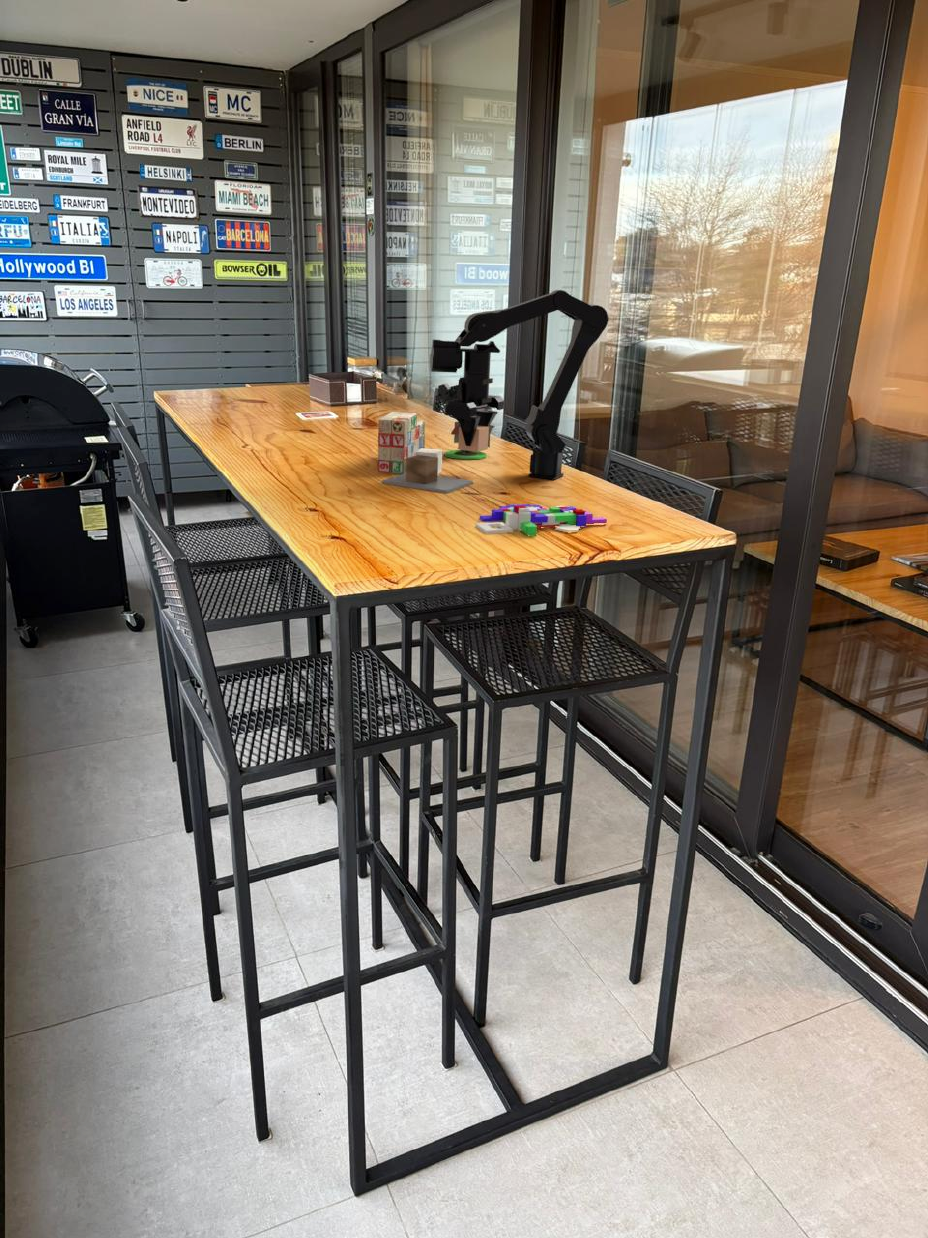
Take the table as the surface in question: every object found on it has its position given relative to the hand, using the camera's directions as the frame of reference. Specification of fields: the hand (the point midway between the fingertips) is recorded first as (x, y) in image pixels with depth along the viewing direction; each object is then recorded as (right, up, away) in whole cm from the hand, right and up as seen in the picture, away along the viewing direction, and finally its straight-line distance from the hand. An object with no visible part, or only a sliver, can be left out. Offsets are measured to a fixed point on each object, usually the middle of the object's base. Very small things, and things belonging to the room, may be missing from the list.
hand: (473, 444), depth 204 cm
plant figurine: (-1, +2, +25) cm, 25 cm away
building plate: (-10, -10, -8) cm, 16 cm away
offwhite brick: (-10, -6, +4) cm, 13 cm away
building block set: (+11, -22, -34) cm, 42 cm away
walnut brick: (-11, -10, -8) cm, 17 cm away
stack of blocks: (-17, -3, +11) cm, 20 cm away
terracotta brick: (0, -1, 0) cm, 1 cm away
